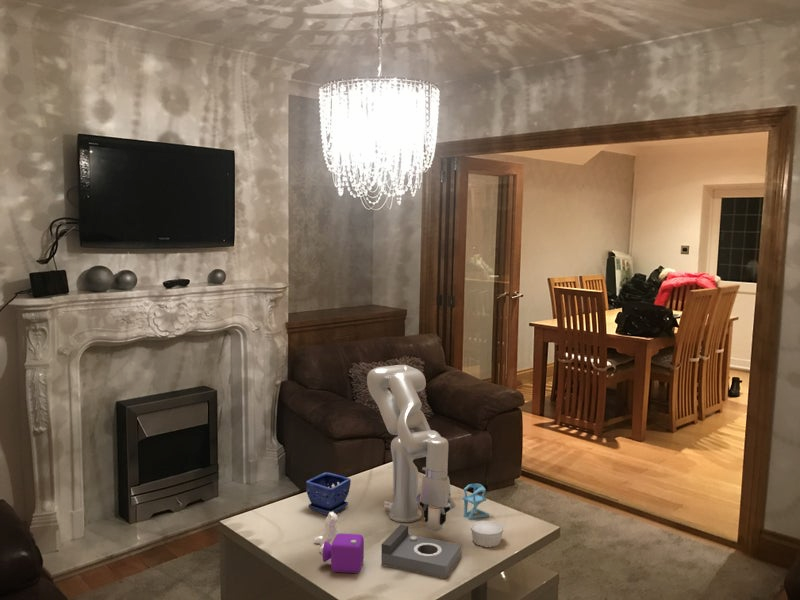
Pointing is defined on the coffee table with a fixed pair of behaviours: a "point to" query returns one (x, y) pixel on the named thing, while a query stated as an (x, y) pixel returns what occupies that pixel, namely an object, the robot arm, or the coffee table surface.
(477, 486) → the chair
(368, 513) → the coffee table surface
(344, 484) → the flower pot
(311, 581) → the coffee table surface
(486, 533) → the ramekin
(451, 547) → the camera body
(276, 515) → the coffee table surface
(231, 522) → the coffee table surface
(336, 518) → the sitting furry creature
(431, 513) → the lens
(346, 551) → the toy camera
